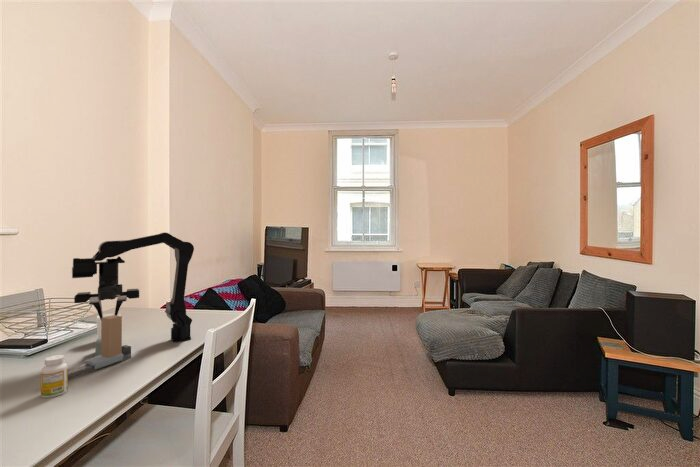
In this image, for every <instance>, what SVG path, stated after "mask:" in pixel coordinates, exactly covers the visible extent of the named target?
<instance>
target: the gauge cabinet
mask: <svg viewBox="0 0 700 467" xmlns="http://www.w3.org/2000/svg"><path fill="white" fill-rule="evenodd" d="M94 344H95V345H94V346H95V350H94V351H95V352H94V353H95V356H94V357H97V356H100V355H101V337H100V338H98V337H97V338H96V340H95V343H94Z"/></svg>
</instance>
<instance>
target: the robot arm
mask: <svg viewBox="0 0 700 467" xmlns="http://www.w3.org/2000/svg"><path fill="white" fill-rule="evenodd" d="M159 244H165V245H166V246H168V247H169V248H171V249H173V250H174V258H175V261H176V262H175V263H176V264H175V265H176V266H175V272H174V281H173V289H172V297H171V300H170V301H169V302H168V301H166V303H165V307H166V308H165V310H164V313H166V317H167V318H168V319H169V320H171V321H172V327H171V328H170V340H172V342H173V343H174V342H181V341H182V342H183V341H189V340H192V337H191V324H192V322H193V319H192V317H190V316H188V314H187V308H186V307H187V306H186V303H185V294H186V287H187V286H186V285H187V284H186V283H187V279H188V278H187V276H188V269H189V264H190V261H191V259H192V258H193V254H194V251H195V246H194V245H193V244H192V243H191V242H190V241H183V240H181V239H180V238H177V237H176V236H174V235H172V234H171V233H170V232H161V233H157V234H152V235H148V236H147V235H146V236H143V237H137V238H131V239H126V240H123V239H121V240H106V241H103V242H101V243H100V244H99V246H98V248H97V249H98V251H96V253H95V254H94V255H93V257H89V258H87V257H86V258H78V257H73V259H72V267H71V278H72V279H82V278H83V279H84V278H93V276H94V275H95V276H96V275H97V273H98V287H97V293H91V291H83V292H77V294H75V295H74V301H73V302H74V304H80V303H81V304H82V303H86V302H87V303H88V305H93V306H94V308H95V309H96V311H97V313H98V316H99V317H100V319H101V318H103V314H104V313H103V308H102V301H104V300H115V299H116V303H115V310H114V313H115V315H116V316H117V314H118V313H119V310H120V309H121V306H122V304H123V303H124V302H127V300H128V299H130V300H131V299H139V298H140V289H139V288H127V289H126V291H123V284H121V283H120V284H119V264H124V263H126V261H125V260H124V259H122V258H121V256H119V255H122V254H124V253H127V252H128V251H129V252H130V251H132V250H136V249H140V248H145V247H150V246H155V245H159ZM116 256H117V257H116ZM114 257H115V258H114ZM105 259H106V261H104V260H105ZM88 301H89V302H88Z"/></svg>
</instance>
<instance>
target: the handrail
mask: <svg viewBox="0 0 700 467" xmlns="http://www.w3.org/2000/svg"><path fill="white" fill-rule="evenodd" d="M122 354H123V360H120V361H117V362H115V363H112V364H109V365H106V366H103V367H100V368H97V369H94V366H93V365H89V364H87V365H85V364H84V365H81V366H78V367H75V368H74V367H73V368H72V369H69V370H68V380H71V379H74V378H77V377H80V376H83V375H86V374H88V373H91V372H94V371H97V370H100V369H103V368H106V367H108V366H111V365H114V364H117V363H119V362H123V361H126V360H129V359H131V358H132V346H131V345H127V344H125V345H122Z"/></svg>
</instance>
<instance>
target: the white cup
mask: <svg viewBox="0 0 700 467" xmlns="http://www.w3.org/2000/svg"><path fill="white" fill-rule="evenodd" d="M112 315H115V312H113V313H103V317H108V316H112ZM121 315H122V314H121V313H119V312H118V314H117V316H121ZM96 329H97V330H96V331H97V338H100V337H101V319H100V317H99V315H97V316H96Z"/></svg>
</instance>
